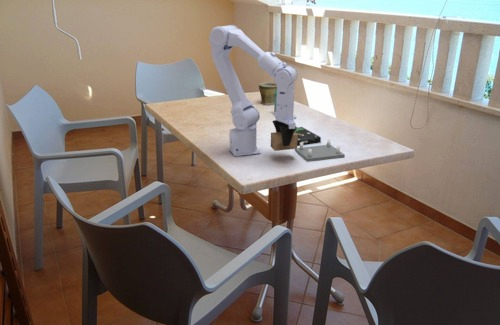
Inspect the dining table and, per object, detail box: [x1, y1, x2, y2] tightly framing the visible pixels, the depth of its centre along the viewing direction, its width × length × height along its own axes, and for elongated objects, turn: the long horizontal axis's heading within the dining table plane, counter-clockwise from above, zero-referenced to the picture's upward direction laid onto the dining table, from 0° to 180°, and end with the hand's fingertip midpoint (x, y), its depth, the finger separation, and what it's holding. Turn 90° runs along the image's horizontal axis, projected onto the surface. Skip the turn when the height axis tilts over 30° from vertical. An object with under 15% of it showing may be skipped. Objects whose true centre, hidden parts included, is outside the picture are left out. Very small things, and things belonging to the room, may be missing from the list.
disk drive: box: [295, 126, 322, 147], centre depth 162 cm, size 10×3×15 cm
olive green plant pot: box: [258, 82, 277, 106], centre depth 215 cm, size 13×10×10 cm
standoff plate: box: [294, 139, 346, 162], centre depth 146 cm, size 14×11×4 cm
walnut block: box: [270, 131, 298, 152], centre depth 141 cm, size 8×4×5 cm, turn 106°
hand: (283, 143), depth 141 cm, fingers closed on walnut block, 4 cm apart
